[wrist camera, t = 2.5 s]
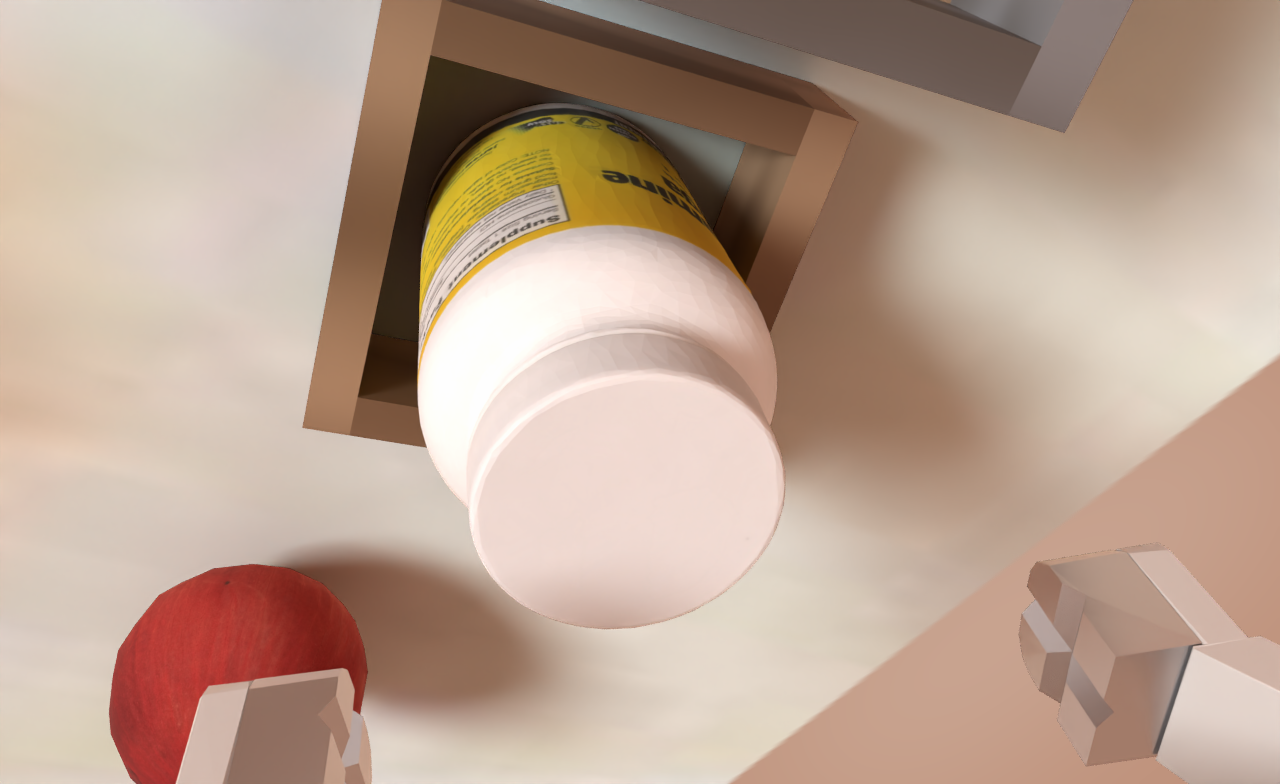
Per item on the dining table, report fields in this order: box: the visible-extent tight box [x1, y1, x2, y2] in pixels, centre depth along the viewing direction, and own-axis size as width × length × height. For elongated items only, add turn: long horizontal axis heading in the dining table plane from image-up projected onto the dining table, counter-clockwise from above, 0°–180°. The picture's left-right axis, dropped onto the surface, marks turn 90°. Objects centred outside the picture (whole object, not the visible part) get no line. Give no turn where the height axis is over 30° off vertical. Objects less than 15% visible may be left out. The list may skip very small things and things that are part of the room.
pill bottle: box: [417, 103, 785, 629], centre depth 19 cm, size 6×6×11 cm
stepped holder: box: [303, 0, 1133, 448], centre depth 17 cm, size 21×10×9 cm, turn 162°
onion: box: [109, 564, 368, 784], centre depth 25 cm, size 6×6×8 cm
